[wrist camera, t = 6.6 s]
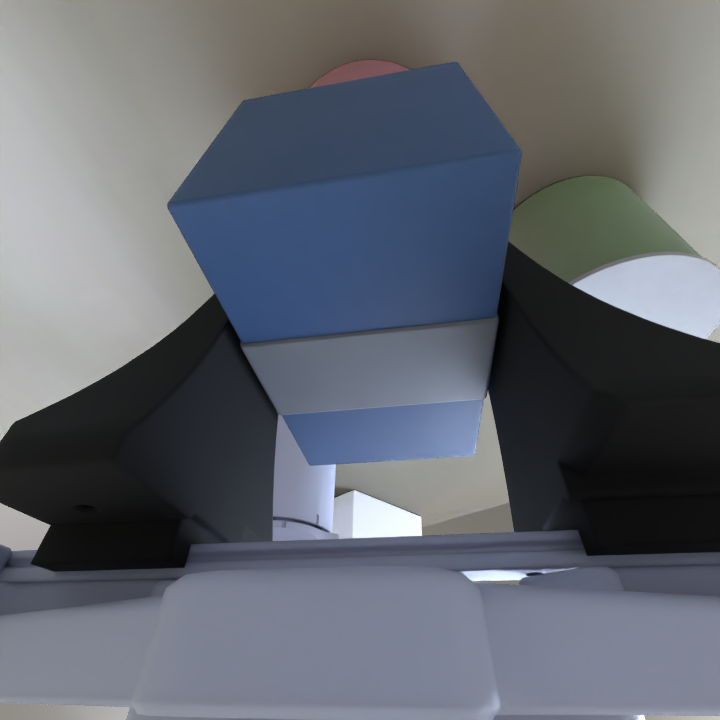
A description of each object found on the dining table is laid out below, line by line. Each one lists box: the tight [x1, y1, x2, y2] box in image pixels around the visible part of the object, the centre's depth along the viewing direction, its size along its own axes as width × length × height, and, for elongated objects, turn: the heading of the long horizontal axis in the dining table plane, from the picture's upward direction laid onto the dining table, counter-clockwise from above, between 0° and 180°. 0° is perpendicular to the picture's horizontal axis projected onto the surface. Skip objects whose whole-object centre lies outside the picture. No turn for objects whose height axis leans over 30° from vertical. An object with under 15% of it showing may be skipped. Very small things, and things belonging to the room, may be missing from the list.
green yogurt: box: [508, 176, 720, 339], centre depth 17 cm, size 7×7×6 cm
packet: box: [167, 62, 522, 466], centre depth 10 cm, size 8×5×5 cm, turn 9°
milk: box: [332, 490, 422, 539], centre depth 39 cm, size 12×12×26 cm
